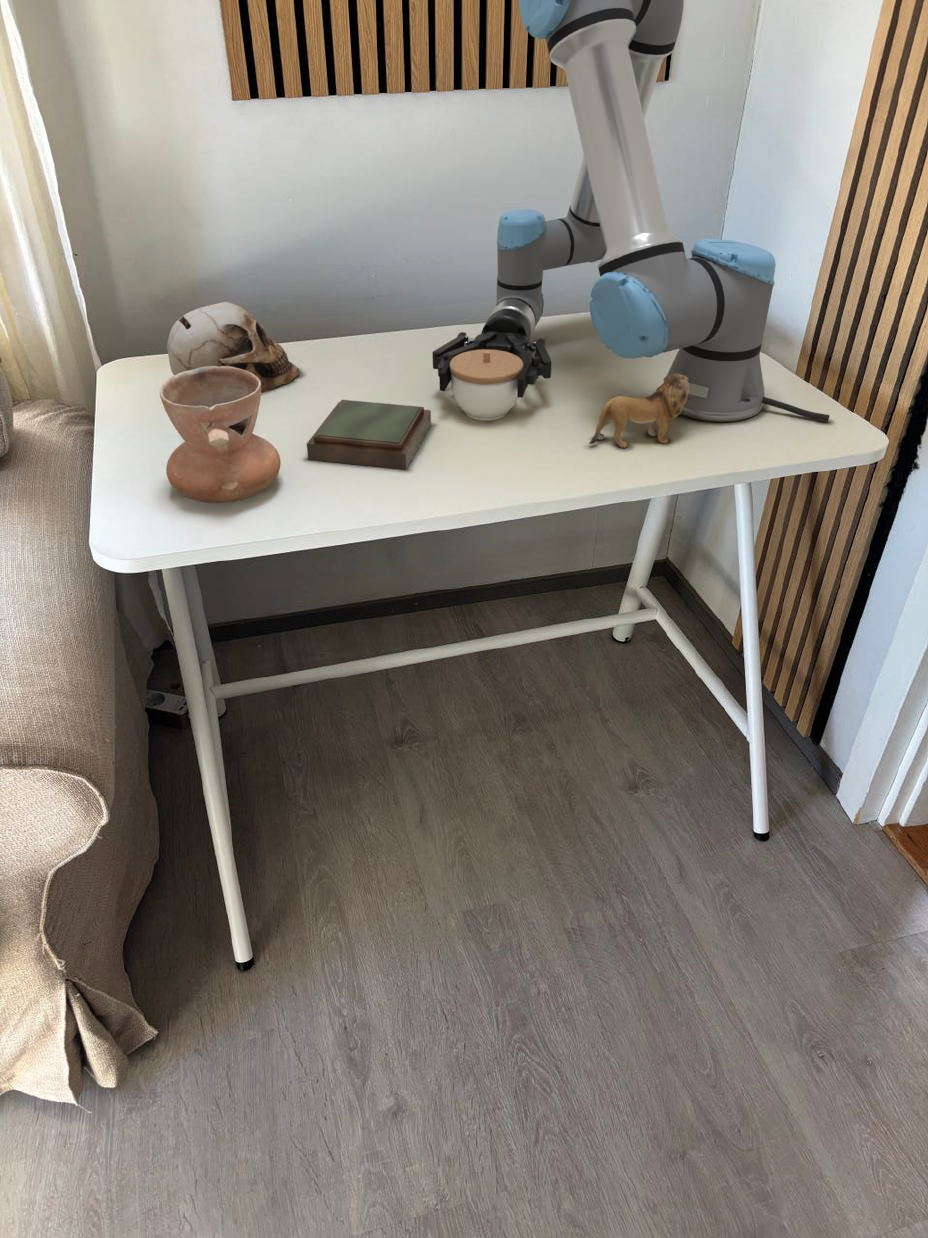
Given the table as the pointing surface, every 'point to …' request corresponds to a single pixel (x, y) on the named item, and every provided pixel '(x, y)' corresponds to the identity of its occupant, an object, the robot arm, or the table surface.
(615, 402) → the lion figurine
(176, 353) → the coin bank
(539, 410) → the table surface
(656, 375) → the table surface
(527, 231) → the robot arm
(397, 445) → the holder
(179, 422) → the orange-brown waisted vessel
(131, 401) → the table surface
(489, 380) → the lidded bowl
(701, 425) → the table surface
